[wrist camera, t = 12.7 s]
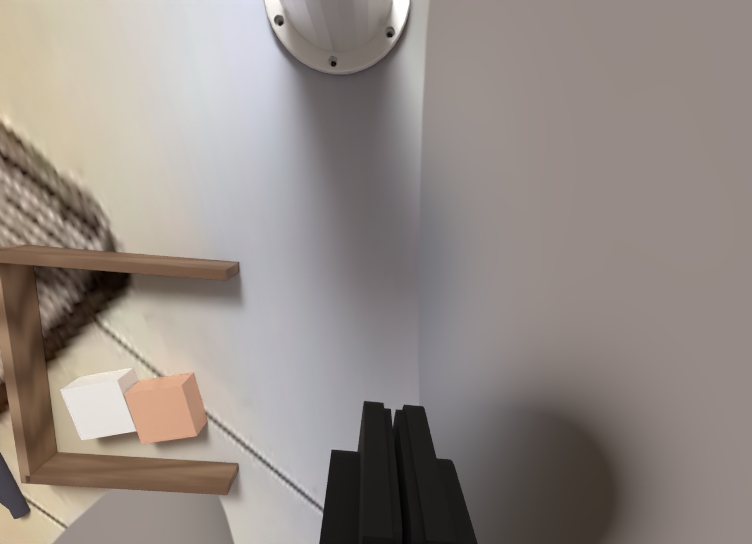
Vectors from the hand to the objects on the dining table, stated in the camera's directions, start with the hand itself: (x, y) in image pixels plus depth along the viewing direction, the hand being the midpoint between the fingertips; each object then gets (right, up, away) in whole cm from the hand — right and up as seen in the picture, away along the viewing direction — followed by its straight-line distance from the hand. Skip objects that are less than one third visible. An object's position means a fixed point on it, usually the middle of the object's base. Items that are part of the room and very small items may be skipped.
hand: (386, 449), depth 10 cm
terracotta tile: (-23, -9, +31) cm, 40 cm away
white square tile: (-29, -9, +31) cm, 43 cm away
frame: (-26, -5, +30) cm, 40 cm away
